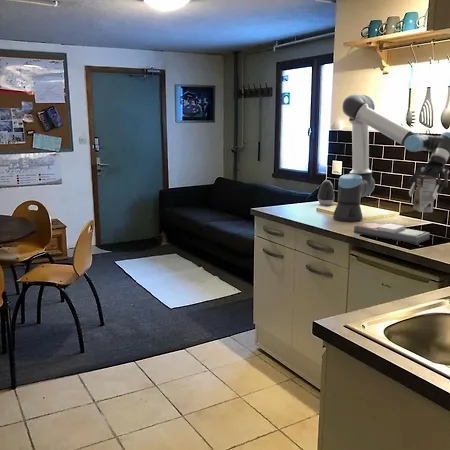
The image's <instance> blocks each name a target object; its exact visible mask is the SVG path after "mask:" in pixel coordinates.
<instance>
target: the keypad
mask: <svg viewBox="0 0 450 450" xmlns="http://www.w3.org/2000/svg"><path fill="white" fill-rule="evenodd" d="M366 223H370V222H364V223H361V224H358V225H355V226H354V227H353V229H354V230H353V233H354V234H360V235H365V236H370V237H375V238H381V239H385V240H390V239H392V241H396V240H398V241H397V242H401V241H403V243H406V242H407V243H408V244H413V245H419V244H421V243H424V242H427V241H428V240H430V236H431V235H430V234H431V233H430V232H428V231H425V232H426V233H425V234H422V235H420V236H417V237H414V236H408V235H403V234H398V232H396V233H392V232H386V231H380V230H377V229H369V228H363V227H358V226H359V225H363V224H366ZM407 229H408V228H405V230H407ZM402 231H404V230H402ZM399 232H401V231H399Z"/></svg>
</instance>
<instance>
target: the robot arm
mask: <svg viewBox="0 0 450 450" xmlns="http://www.w3.org/2000/svg"><path fill="white" fill-rule="evenodd" d="M375 107H376V105H375V102H374V100H373V99H372V98H371V97H370V96H368V95H365V94H357V93H356V94H353V93H352V94H349V95H347V96H346V97H344V99H343V101H342V103H341V110H342V113H343V114H344V115H345V116H346V117H348V122H349V123H350V124H351V136H352V137H351V139H352V140H351V141H352V142H351V144H352V145H351V146H352V147H351V148H352V149H351V152H352V156H351V157H352V159H351V160H352V162H351V163H352V170H351V171H349V173H348V174H347V173H346V174H343V175H341V176H340V177H339V178H338V189H337V205H336V206H335V209H334V212H333V214H332V219H333V220H334V221H338V222H347V223H357V222H362V221H363V217H364V216H363V213H362V208H361V198H363V197H368V196H369V195H370V194H372V193H373V192H374V189H375V186H376V181H375V179H374V178H373V172H372V170H371V169H370V167H369V166H370V162H369V161H370V158H369V157H370V153H369V152H370V147H369V146H370V145H369V144H370V139H369V135H370V133H369V131H370V130H369V129H370V128H369V127H371V128H372V129H374V130H376V131H377V132H379V133H381V134H382V135H384V136H386V137H387V138H389V139H391V140H393V141H395V142H396V143H398V144H400V145H402V146H403V147H405V149H406V150H407V151H408V152H413V153H416V152H421V151H422V152H423V151H427V152H432V153H431V155H430V158H429V159H428V162H427V165H426V166H425V167H424V166H421V165H419V166H418V168H417V170H416V171H415V172H414V173H413V174H412V175H411V176H410V178H409V179H408V182H409V184H410V186H409V191H408V196H409V197H412V196H413V194H414V193H415V183H416V175H430V176H432V177H435V178H436V180H437V181H438V184H436V187H435V191H434V193H433V195H432V196H433V199H434V200H436V199H437V196H438V194H440V193H442V190H443V188H445V189H446V188H448V186H449V185H448V184H449V174H450V168H448V167H446V165H447V162H448V160H449V157H450V132H448V131H445V132H442V133H441V134H440V135H439V136H438V135H435V136H434V135H430V134H421V133H419V134H418V133H415V132H413V131H412V130H410V129H408V128H406V127H404V126H403V125H401V124H399V123H397V122H395V121H393V120H392V119H390V118H388V117H386V116H385V115H383V114H381V113H380V112H378V111H376V110H375ZM445 167H446V168H445ZM440 174H443V182H442V179H441V176H440Z"/></svg>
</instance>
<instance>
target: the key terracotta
mask: <svg viewBox="0 0 450 450" xmlns="http://www.w3.org/2000/svg"><path fill="white" fill-rule="evenodd" d="M365 223H366V224H364V223H362V224H363V225H361V224H358V225H359V226H358V227H363V228H369V229H378V226H381V225H382V223H380V224H379V223H374V222H369V223H368V222H365Z"/></svg>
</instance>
